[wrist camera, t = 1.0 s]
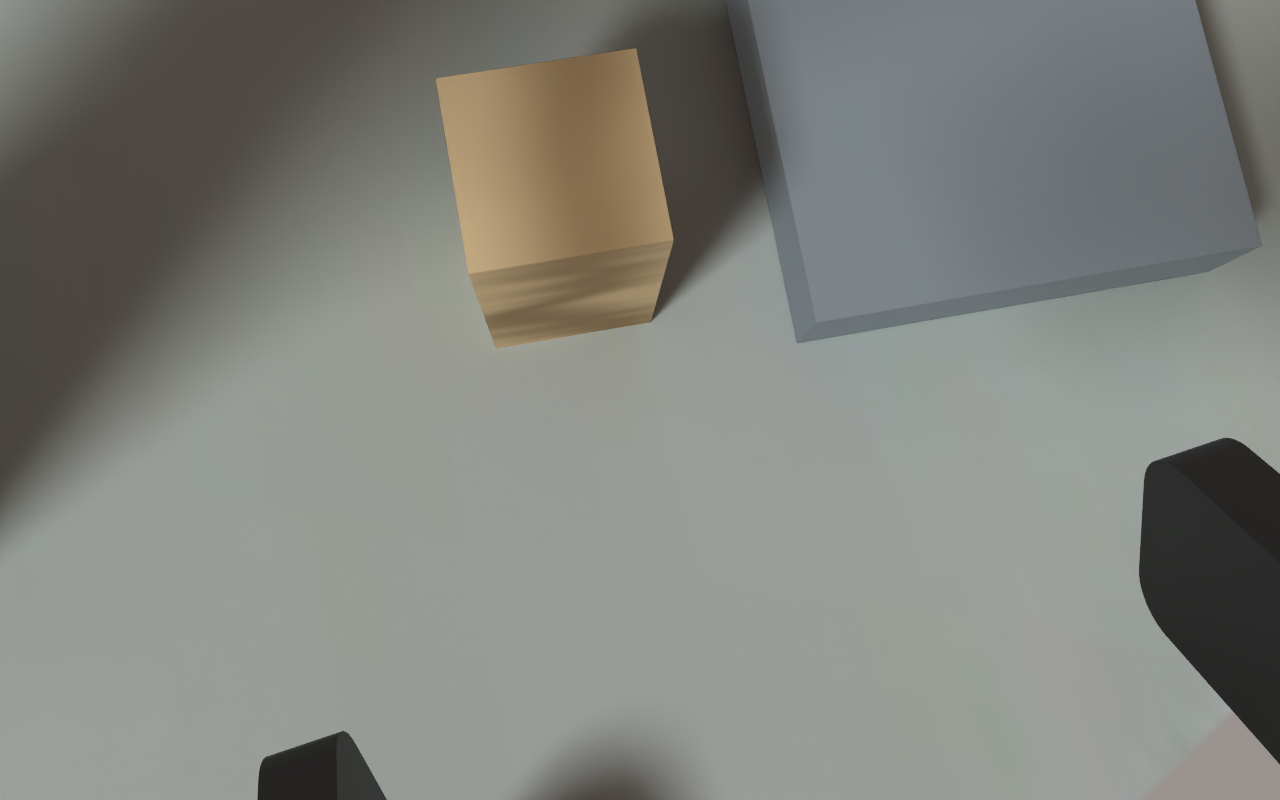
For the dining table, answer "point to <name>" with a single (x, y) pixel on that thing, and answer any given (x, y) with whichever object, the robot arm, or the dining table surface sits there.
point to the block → (558, 195)
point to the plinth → (985, 152)
